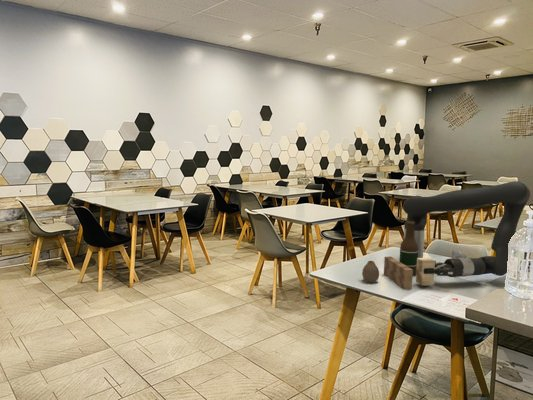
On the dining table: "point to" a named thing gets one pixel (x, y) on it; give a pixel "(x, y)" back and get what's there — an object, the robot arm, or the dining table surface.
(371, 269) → the vase
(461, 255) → the medicine box
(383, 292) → the dining table surface
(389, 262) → the walnut board
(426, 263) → the maple block
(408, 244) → the beer bottle
